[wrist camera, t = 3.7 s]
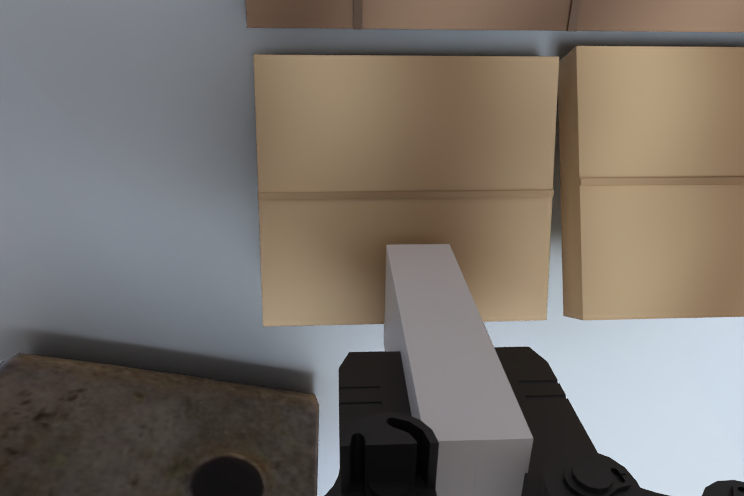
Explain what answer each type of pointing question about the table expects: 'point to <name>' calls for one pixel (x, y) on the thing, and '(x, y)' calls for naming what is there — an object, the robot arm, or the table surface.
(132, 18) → the table surface
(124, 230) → the table surface
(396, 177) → the oak plank
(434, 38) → the table surface
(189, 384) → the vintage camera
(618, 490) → the robot arm
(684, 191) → the oak plank
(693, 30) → the walnut row
